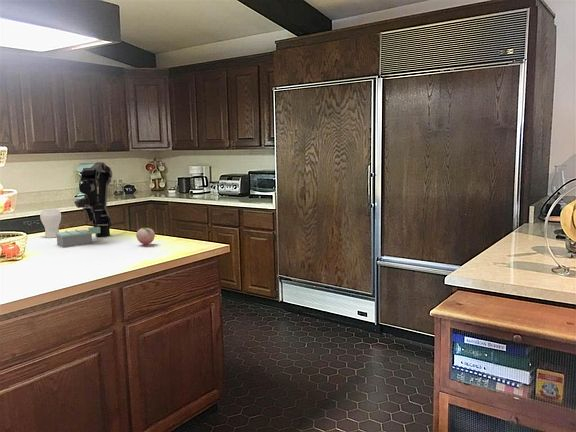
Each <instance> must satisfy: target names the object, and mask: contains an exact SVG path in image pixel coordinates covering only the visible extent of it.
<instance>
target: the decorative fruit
mask: <svg viewBox="0 0 576 432" xmlns="http://www.w3.org/2000/svg"><path fill="white" fill-rule="evenodd" d="M135 237H136V239H137V241H138V242H139V243H140V244H142V245H144V246H148V245H149V244H152V242H154V240H155V238H156V233H155V231H154V230H153V229H152V228H149V227H140V228H139V229H138V230H137V232H136V234H135Z"/></svg>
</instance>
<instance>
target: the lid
mask: <svg viewBox="0 0 576 432" xmlns="http://www.w3.org/2000/svg"><path fill="white" fill-rule="evenodd" d="M87 229H88V230H87ZM87 229H79V230H78V229H75V230H70V231H67V230H65V231H62V232H61V231H59V233H56V235H58V236H60V237H68V236H77V235H85V234H92V235H93V234H95V235H96V233H100V227H94V226H92V227H88V228H87Z"/></svg>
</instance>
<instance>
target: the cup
mask: <svg viewBox="0 0 576 432" xmlns="http://www.w3.org/2000/svg"><path fill="white" fill-rule="evenodd" d="M39 216H40V217H39V218H40V221H41V223H42V225H43V226H44V230H45V231H44V238H51V239H52V238H57V235H56V233H60V230H59V229H60V228H59V227H60V226H59V225H60V224H61V221H62V212H61V210H60V209H58V208H49V209H41V210H40V214H39Z"/></svg>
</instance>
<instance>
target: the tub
mask: <svg viewBox="0 0 576 432" xmlns="http://www.w3.org/2000/svg"><path fill="white" fill-rule="evenodd" d="M56 243H57V246H59V247H62V248H63V249H64V248H69V247H76V246H86V245H93V234H85V235H77V236H68V237H60V236H58V235H57V237H56Z"/></svg>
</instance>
